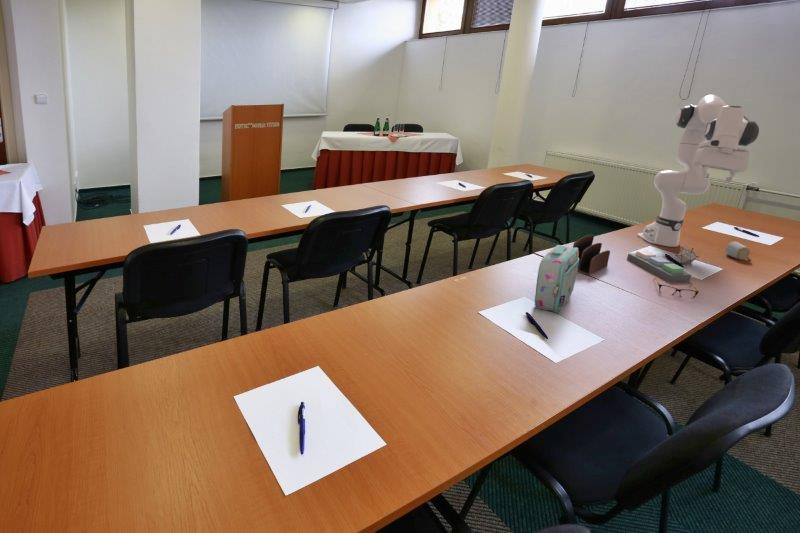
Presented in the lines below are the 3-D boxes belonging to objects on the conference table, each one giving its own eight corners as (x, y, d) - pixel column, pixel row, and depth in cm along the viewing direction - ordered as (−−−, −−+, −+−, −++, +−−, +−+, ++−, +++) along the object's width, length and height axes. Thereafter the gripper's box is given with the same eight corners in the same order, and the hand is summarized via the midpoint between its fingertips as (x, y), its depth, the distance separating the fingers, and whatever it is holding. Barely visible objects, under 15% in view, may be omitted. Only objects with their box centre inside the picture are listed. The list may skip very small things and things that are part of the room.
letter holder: (567, 269, 208) (573, 239, 203) (586, 260, 221) (593, 231, 216) (588, 276, 201) (595, 245, 196) (607, 266, 215) (614, 237, 210)
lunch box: (558, 320, 160) (571, 262, 152) (529, 312, 164) (539, 255, 156) (573, 294, 181) (585, 242, 174) (547, 287, 186) (557, 236, 178)
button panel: (626, 258, 226) (628, 253, 225) (645, 258, 229) (647, 252, 227) (669, 281, 201) (671, 275, 200) (689, 281, 203) (691, 274, 202)
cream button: (635, 256, 224) (636, 250, 223) (645, 256, 225) (647, 250, 224) (643, 261, 218) (645, 255, 217) (654, 260, 220) (656, 255, 219)
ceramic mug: (735, 260, 235) (741, 246, 232) (723, 254, 243) (728, 240, 240) (753, 261, 237) (759, 246, 234) (740, 255, 244) (745, 241, 242)
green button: (660, 270, 208) (662, 263, 207) (672, 269, 210) (674, 263, 209) (670, 275, 203) (672, 268, 202) (682, 274, 204) (684, 268, 203)
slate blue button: (647, 263, 216) (649, 257, 215) (658, 262, 217) (660, 256, 216) (656, 267, 211) (658, 261, 210) (668, 267, 212) (669, 261, 211)
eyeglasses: (656, 293, 189) (659, 284, 187) (652, 281, 202) (655, 272, 200) (696, 301, 184) (699, 292, 183) (689, 288, 197) (692, 279, 196)
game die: (683, 270, 228) (696, 253, 227) (692, 270, 219) (706, 253, 219) (668, 259, 228) (681, 242, 228) (677, 258, 220) (690, 241, 219)
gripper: (744, 151, 191) (736, 184, 192) (694, 143, 191) (687, 176, 192) (755, 148, 184) (747, 183, 186) (704, 140, 185) (697, 175, 186)
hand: (716, 179), depth 189 cm, fingers open, 8 cm apart
